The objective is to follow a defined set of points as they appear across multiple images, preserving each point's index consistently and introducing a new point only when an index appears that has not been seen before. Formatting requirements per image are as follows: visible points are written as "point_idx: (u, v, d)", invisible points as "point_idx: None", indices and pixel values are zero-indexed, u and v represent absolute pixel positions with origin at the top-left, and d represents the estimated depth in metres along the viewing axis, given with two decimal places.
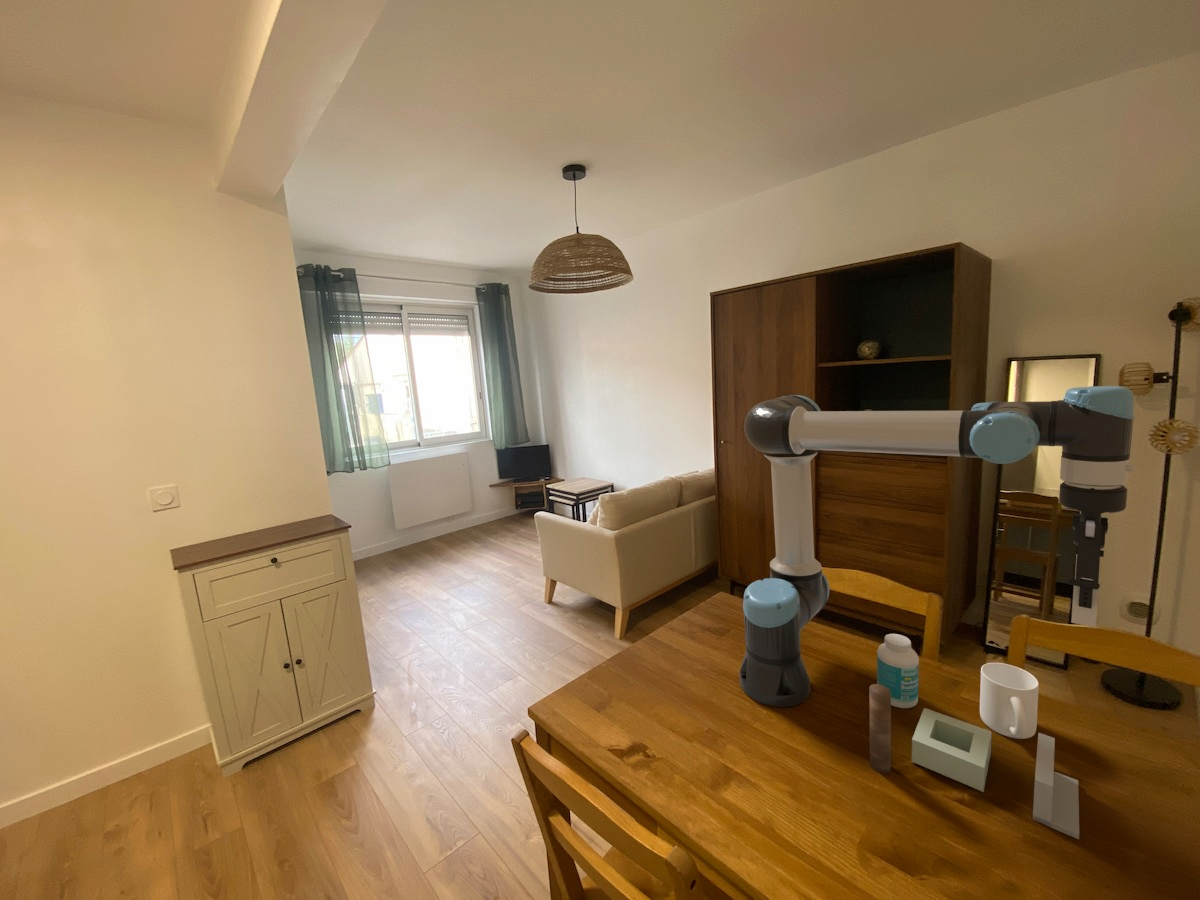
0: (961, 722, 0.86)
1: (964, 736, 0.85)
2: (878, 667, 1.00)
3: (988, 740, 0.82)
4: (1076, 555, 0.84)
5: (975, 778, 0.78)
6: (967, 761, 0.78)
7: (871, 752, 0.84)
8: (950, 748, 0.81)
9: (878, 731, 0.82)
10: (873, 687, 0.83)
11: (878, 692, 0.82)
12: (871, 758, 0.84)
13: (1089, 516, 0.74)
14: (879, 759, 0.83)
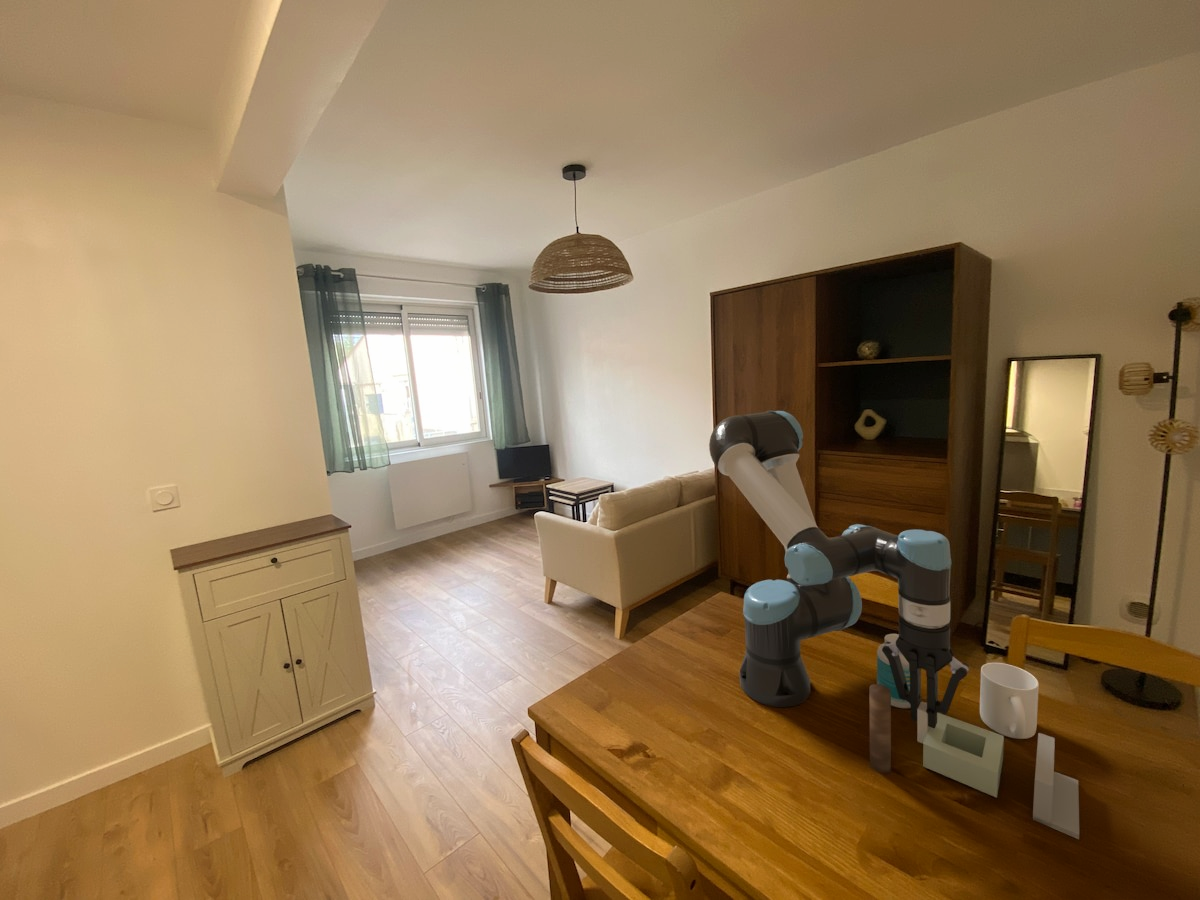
0: (973, 726, 0.85)
1: (976, 741, 0.84)
2: (878, 667, 1.00)
3: (1001, 745, 0.81)
4: (926, 703, 0.87)
5: (988, 783, 0.77)
6: (980, 766, 0.77)
7: (871, 752, 0.84)
8: (962, 752, 0.80)
9: (878, 731, 0.82)
10: (873, 687, 0.83)
11: (878, 692, 0.82)
12: (871, 758, 0.84)
13: None
14: (879, 759, 0.83)
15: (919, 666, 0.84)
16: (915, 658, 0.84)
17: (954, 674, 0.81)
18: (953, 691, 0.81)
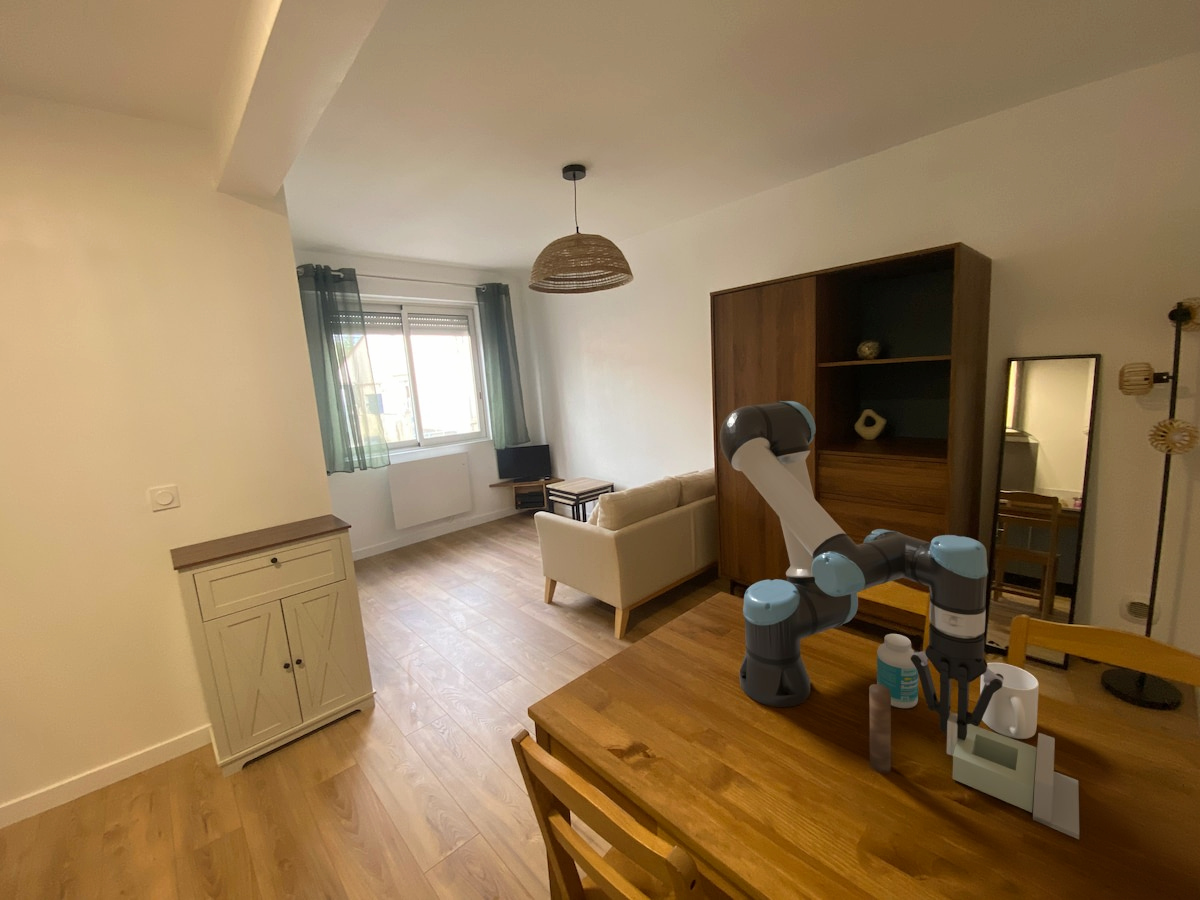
0: (1003, 737, 0.82)
1: (1007, 752, 0.81)
2: (878, 667, 1.00)
3: (1034, 757, 0.78)
4: None
5: (1023, 798, 0.74)
6: (1014, 780, 0.74)
7: (871, 752, 0.84)
8: (995, 765, 0.77)
9: (878, 731, 0.82)
10: (873, 687, 0.83)
11: (878, 692, 0.82)
12: (871, 758, 0.84)
13: None
14: (879, 759, 0.83)
15: (950, 676, 0.81)
16: (947, 668, 0.81)
17: (988, 686, 0.78)
18: (986, 703, 0.78)
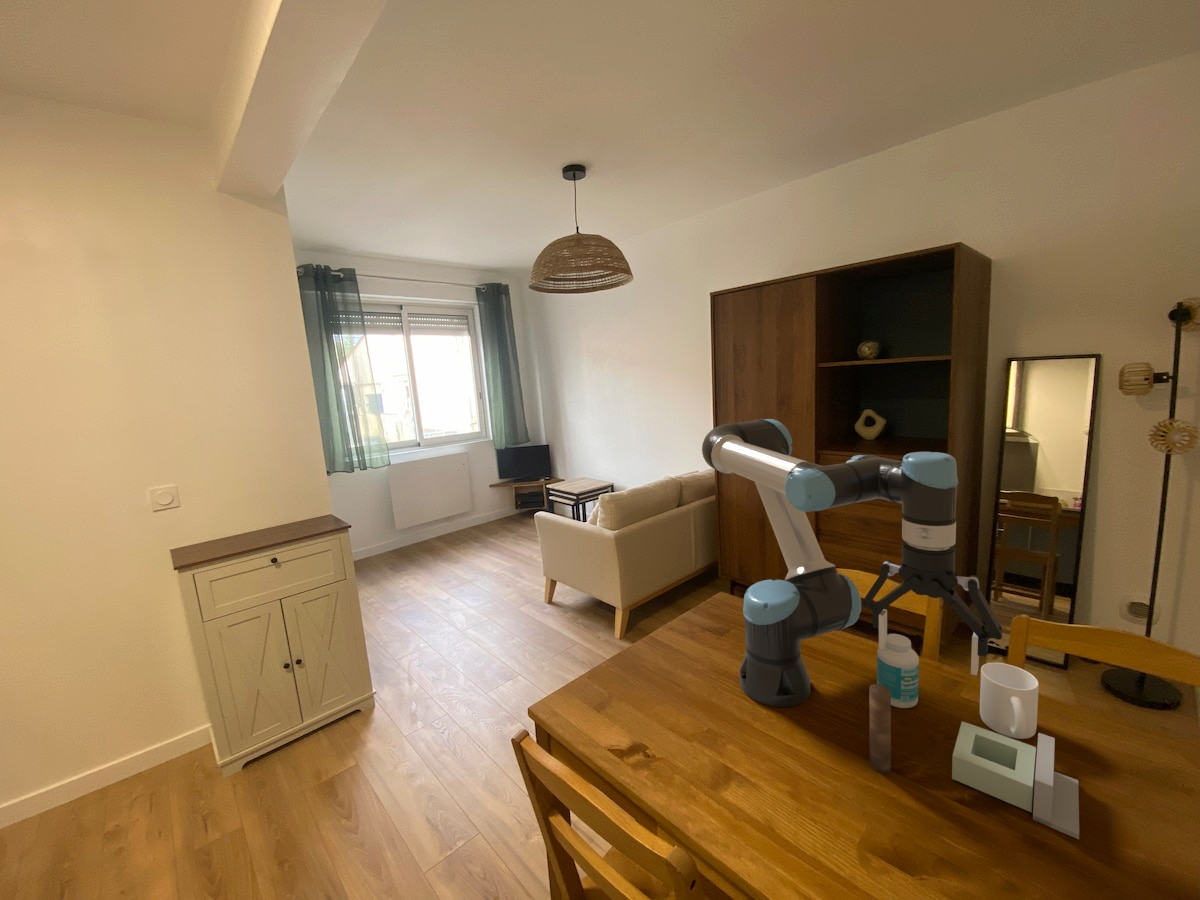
0: (1003, 737, 0.82)
1: (1006, 752, 0.81)
2: (878, 667, 1.00)
3: (1033, 757, 0.78)
4: None
5: (1022, 798, 0.74)
6: (1014, 780, 0.74)
7: (871, 752, 0.84)
8: (994, 765, 0.77)
9: (878, 731, 0.82)
10: (873, 687, 0.83)
11: (878, 692, 0.82)
12: (871, 758, 0.84)
13: None
14: (879, 759, 0.83)
15: None
16: (916, 584, 0.81)
17: (969, 590, 0.77)
18: (984, 608, 0.76)
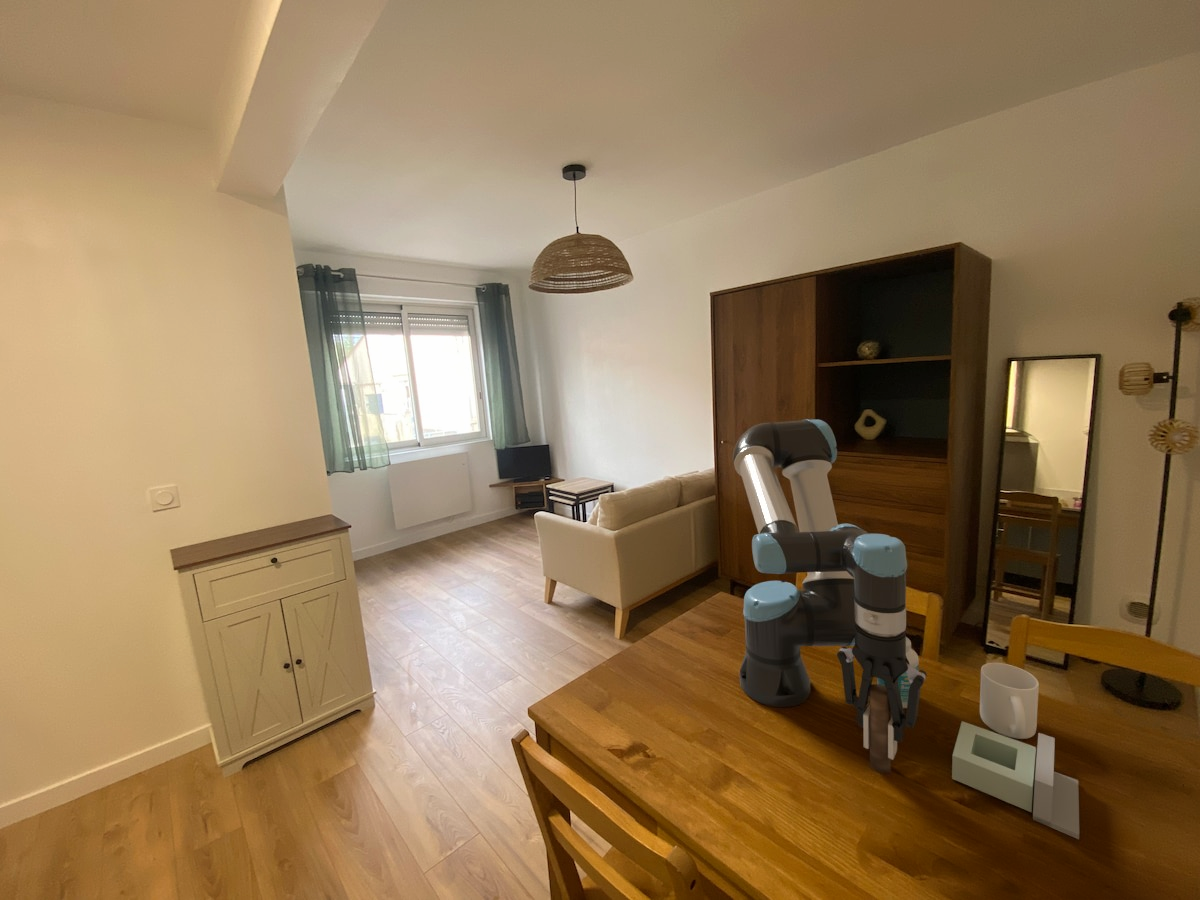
0: (1003, 737, 0.82)
1: (1006, 752, 0.81)
2: None
3: (1033, 757, 0.78)
4: None
5: (1022, 798, 0.74)
6: (1014, 780, 0.74)
7: (871, 752, 0.84)
8: (994, 765, 0.77)
9: (878, 731, 0.82)
10: (873, 687, 0.83)
11: (878, 692, 0.82)
12: (871, 758, 0.84)
13: None
14: (879, 759, 0.83)
15: (872, 675, 0.82)
16: (870, 667, 0.81)
17: (912, 683, 0.77)
18: (914, 702, 0.78)
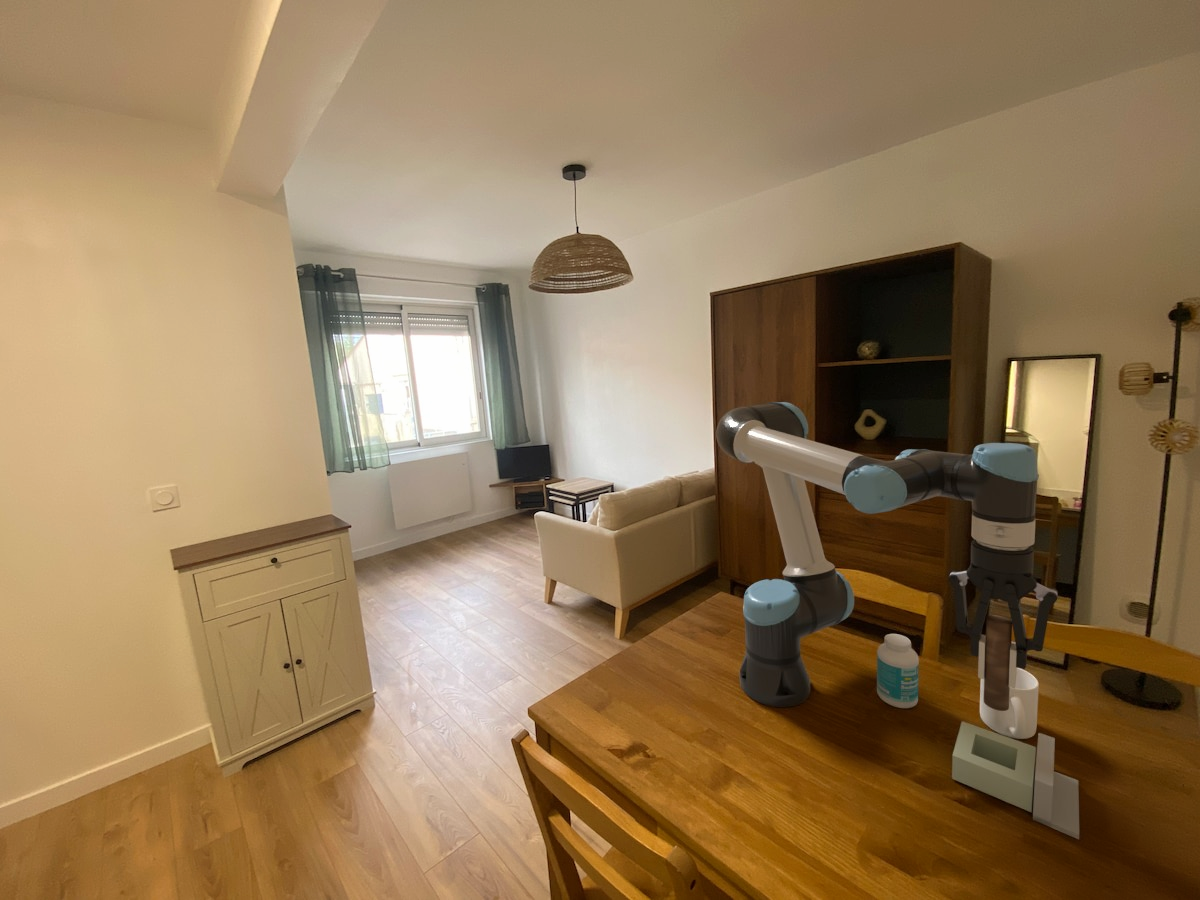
0: (1003, 737, 0.82)
1: (1006, 752, 0.81)
2: (878, 667, 1.00)
3: (1033, 757, 0.78)
4: None
5: (1022, 798, 0.74)
6: (1014, 780, 0.74)
7: (987, 688, 0.78)
8: (994, 765, 0.77)
9: (997, 664, 0.76)
10: (990, 617, 0.77)
11: (997, 622, 0.75)
12: (986, 695, 0.78)
13: (971, 564, 0.77)
14: (997, 695, 0.77)
15: (992, 596, 0.75)
16: (991, 587, 0.74)
17: (1042, 601, 0.71)
18: (1045, 622, 0.71)
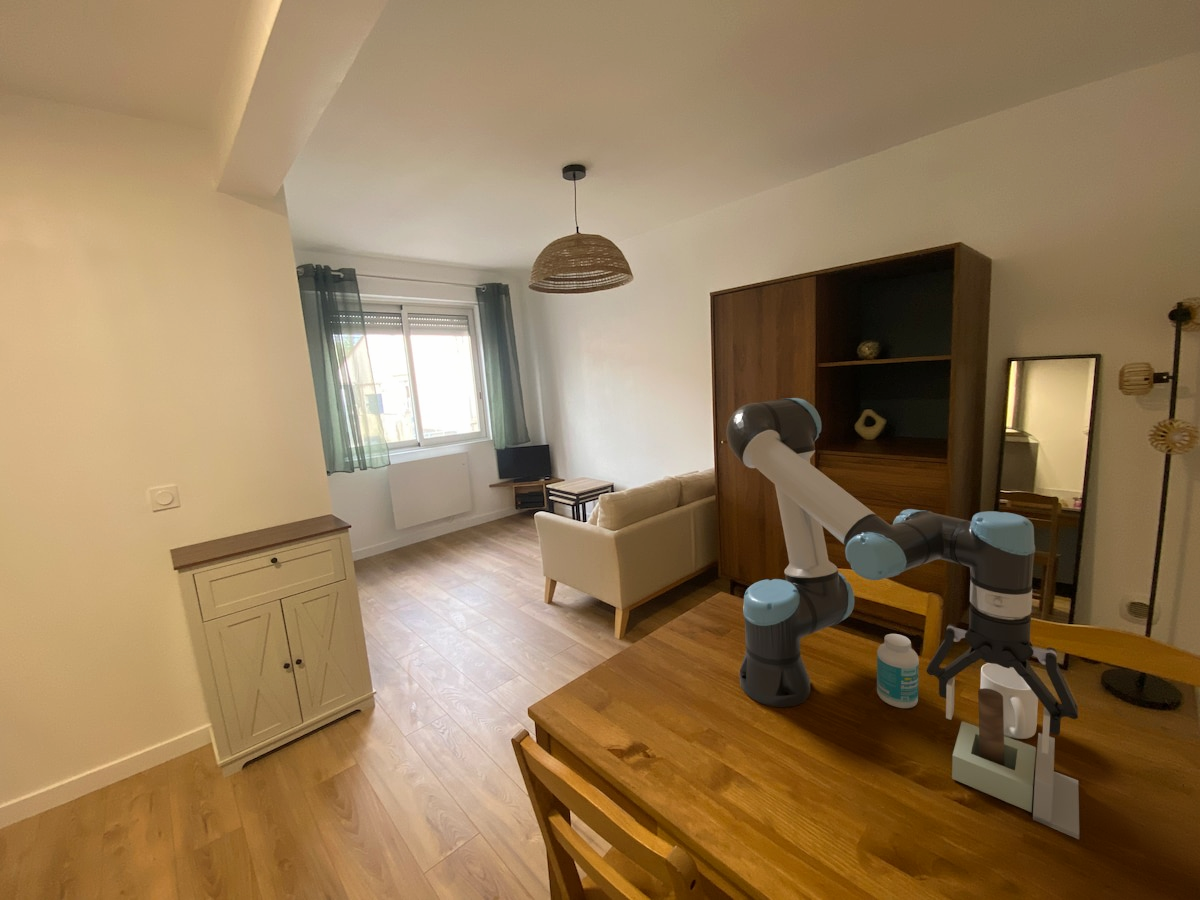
0: None
1: (1006, 752, 0.81)
2: (878, 667, 1.00)
3: (1033, 757, 0.78)
4: None
5: (1022, 798, 0.74)
6: (1014, 780, 0.74)
7: None
8: (994, 765, 0.77)
9: (991, 738, 0.78)
10: (982, 691, 0.79)
11: (989, 697, 0.78)
12: None
13: (969, 627, 0.79)
14: None
15: (981, 658, 0.78)
16: (986, 652, 0.76)
17: (1046, 665, 0.72)
18: (1061, 685, 0.71)
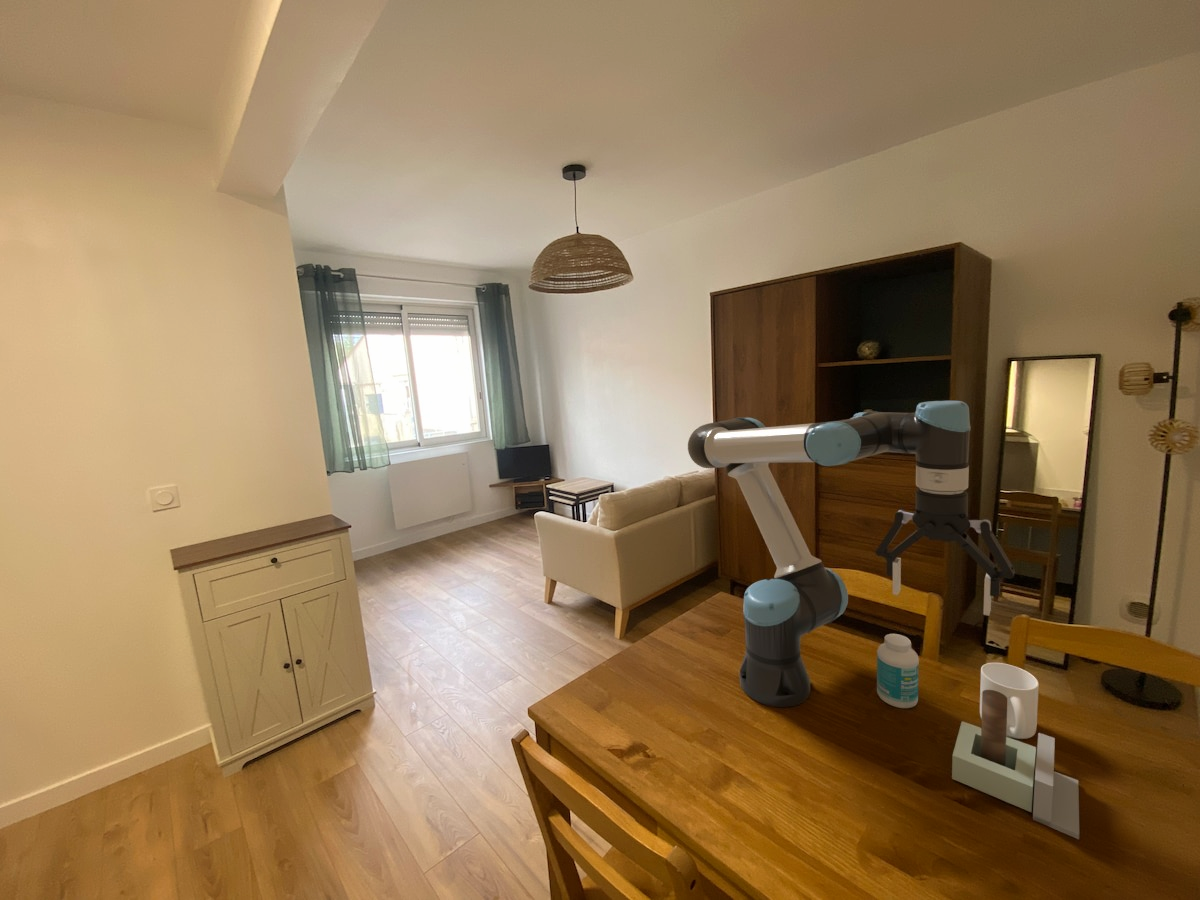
0: None
1: (1006, 752, 0.81)
2: (878, 667, 1.00)
3: (1033, 757, 0.78)
4: None
5: (1022, 798, 0.74)
6: (1014, 780, 0.74)
7: None
8: (994, 765, 0.77)
9: (993, 739, 0.78)
10: (986, 693, 0.79)
11: (993, 699, 0.78)
12: None
13: None
14: None
15: None
16: (929, 529, 0.84)
17: (981, 532, 0.80)
18: (996, 549, 0.79)
